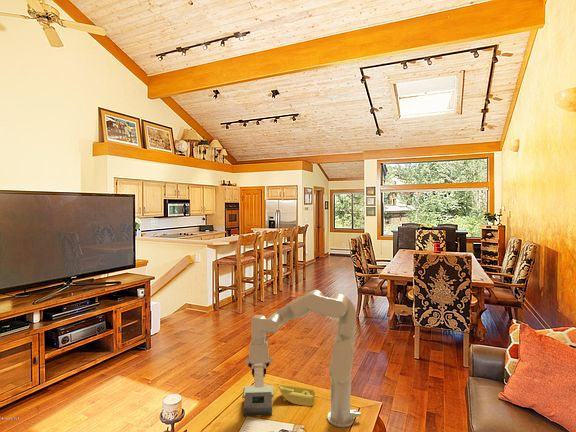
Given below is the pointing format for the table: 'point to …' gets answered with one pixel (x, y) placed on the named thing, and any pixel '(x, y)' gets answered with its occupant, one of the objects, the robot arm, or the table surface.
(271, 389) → the sage mat
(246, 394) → the socket block
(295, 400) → the plastic component
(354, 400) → the table surface
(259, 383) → the beige peg
